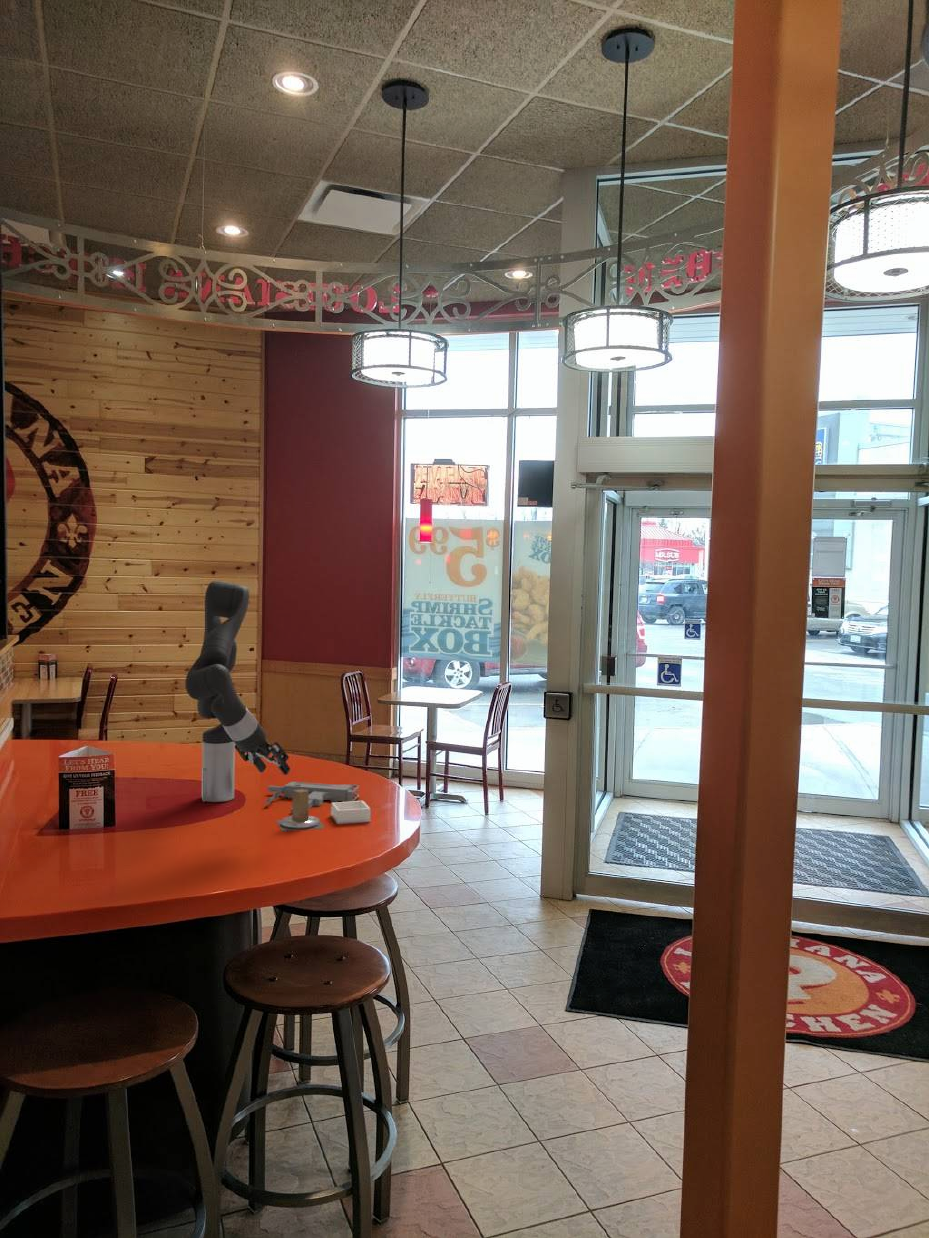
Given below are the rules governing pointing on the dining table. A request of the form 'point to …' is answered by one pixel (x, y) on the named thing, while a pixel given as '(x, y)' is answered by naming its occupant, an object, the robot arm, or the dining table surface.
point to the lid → (300, 812)
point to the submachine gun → (316, 792)
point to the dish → (350, 812)
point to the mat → (298, 829)
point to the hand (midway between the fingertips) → (275, 770)
